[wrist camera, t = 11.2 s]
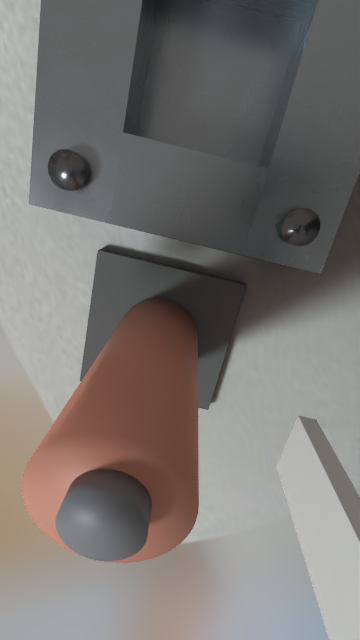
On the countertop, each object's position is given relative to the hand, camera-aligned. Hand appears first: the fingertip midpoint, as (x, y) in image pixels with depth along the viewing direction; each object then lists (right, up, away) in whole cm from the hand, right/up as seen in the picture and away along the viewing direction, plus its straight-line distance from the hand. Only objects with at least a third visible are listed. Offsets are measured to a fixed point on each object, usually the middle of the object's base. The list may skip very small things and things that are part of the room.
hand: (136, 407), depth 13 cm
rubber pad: (0, +3, +8) cm, 8 cm away
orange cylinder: (0, +2, +7) cm, 8 cm away
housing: (+3, +15, +3) cm, 16 cm away
